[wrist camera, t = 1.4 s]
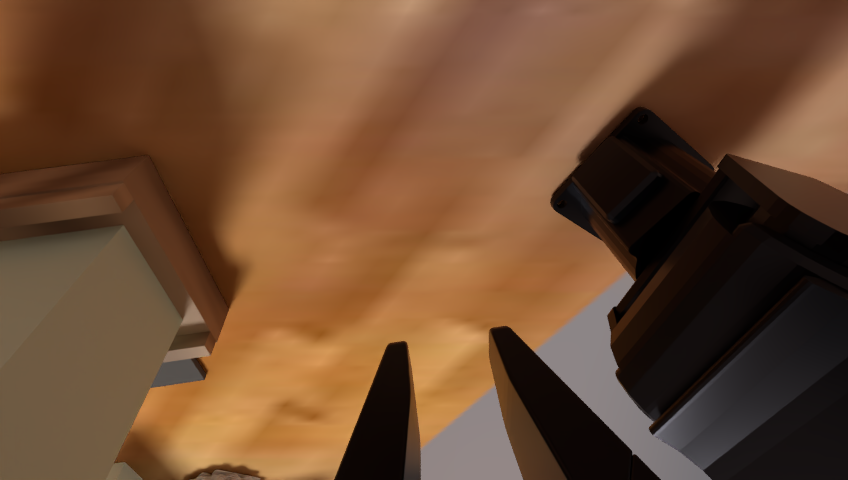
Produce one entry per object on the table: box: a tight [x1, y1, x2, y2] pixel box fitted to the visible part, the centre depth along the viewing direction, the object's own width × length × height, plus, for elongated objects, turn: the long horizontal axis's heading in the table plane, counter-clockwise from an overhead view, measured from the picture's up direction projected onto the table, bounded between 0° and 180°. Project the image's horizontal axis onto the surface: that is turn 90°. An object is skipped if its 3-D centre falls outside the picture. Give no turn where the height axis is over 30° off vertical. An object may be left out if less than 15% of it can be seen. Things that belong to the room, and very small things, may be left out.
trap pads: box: [150, 358, 206, 388], centre depth 21 cm, size 12×21×1 cm, turn 5°
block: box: [0, 225, 183, 480], centre depth 16 cm, size 7×6×10 cm
